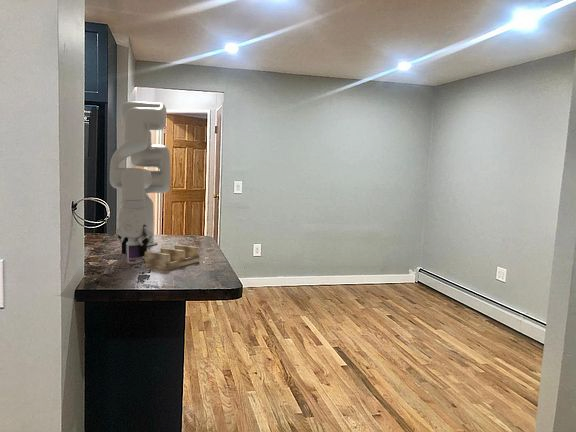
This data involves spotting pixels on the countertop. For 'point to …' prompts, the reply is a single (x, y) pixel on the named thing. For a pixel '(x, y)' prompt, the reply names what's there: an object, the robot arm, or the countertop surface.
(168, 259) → the rack
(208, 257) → the countertop surface
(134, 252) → the pill bottle
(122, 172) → the robot arm
